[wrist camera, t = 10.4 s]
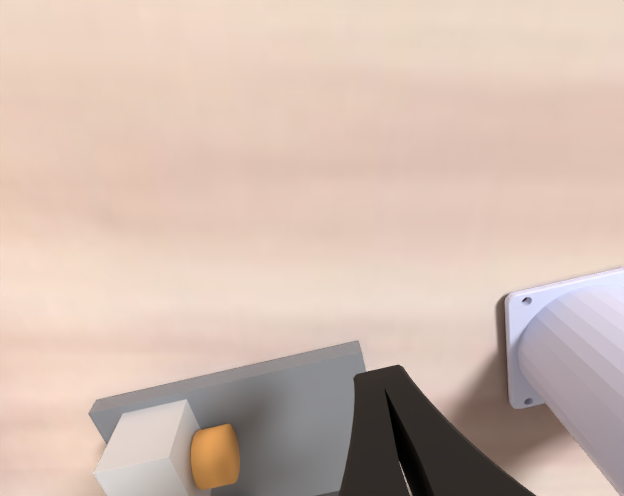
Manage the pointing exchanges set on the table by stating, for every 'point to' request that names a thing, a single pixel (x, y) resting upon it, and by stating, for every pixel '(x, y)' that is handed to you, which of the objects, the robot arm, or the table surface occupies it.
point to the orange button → (215, 457)
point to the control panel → (236, 428)
